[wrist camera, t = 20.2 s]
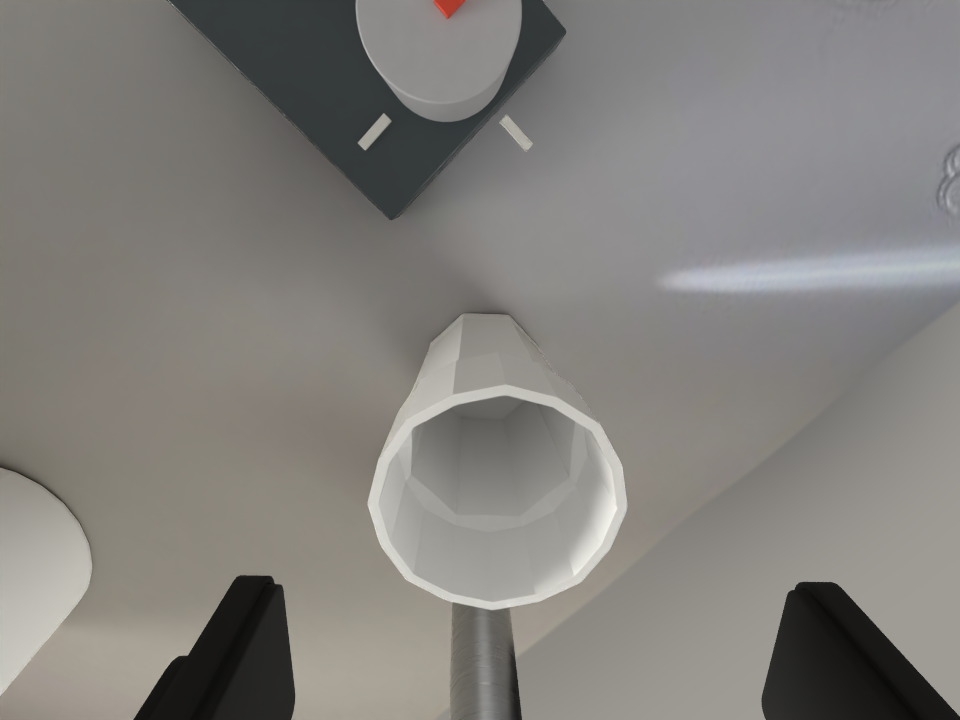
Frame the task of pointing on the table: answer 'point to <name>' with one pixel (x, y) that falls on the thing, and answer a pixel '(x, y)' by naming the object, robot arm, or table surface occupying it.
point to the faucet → (483, 665)
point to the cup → (495, 473)
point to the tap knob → (441, 51)
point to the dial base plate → (355, 88)
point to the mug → (36, 569)
